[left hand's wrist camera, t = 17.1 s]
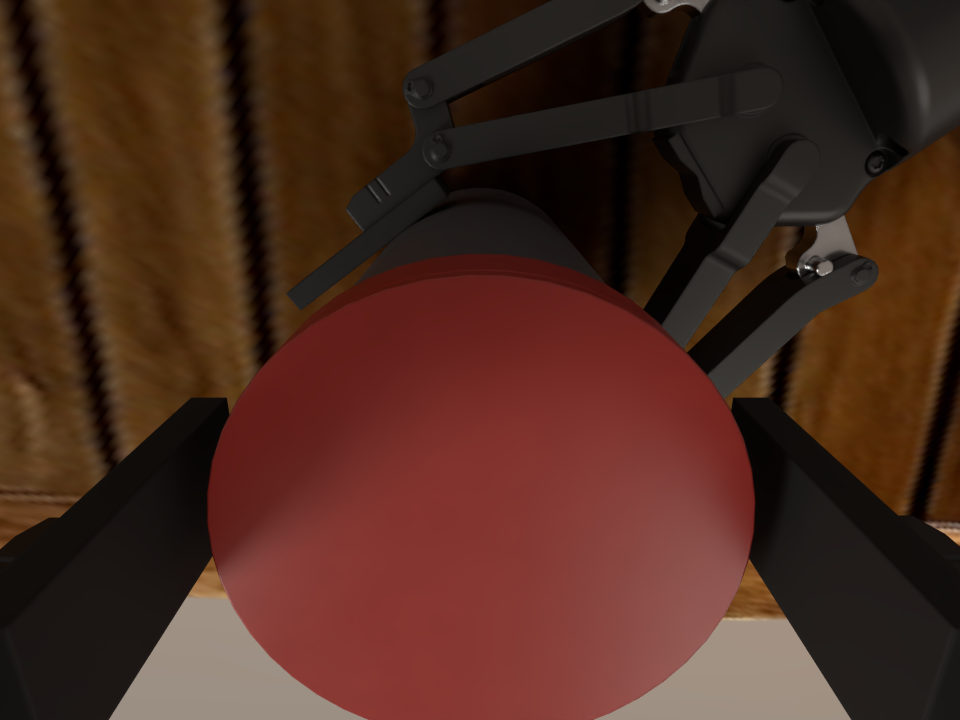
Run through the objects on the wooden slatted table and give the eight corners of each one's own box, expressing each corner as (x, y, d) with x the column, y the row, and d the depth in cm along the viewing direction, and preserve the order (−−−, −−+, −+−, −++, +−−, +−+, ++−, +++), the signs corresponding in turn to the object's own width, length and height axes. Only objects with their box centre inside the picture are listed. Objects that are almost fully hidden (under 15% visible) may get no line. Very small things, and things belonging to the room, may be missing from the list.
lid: (151, 501, 12) (100, 558, 11) (461, 133, 10) (457, 133, 8) (494, 731, 14) (496, 808, 13) (816, 473, 12) (869, 527, 10)
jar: (455, 146, 27) (405, 170, 9) (612, 260, 28) (831, 469, 11) (351, 307, 29) (154, 573, 11) (502, 403, 31) (532, 764, 13)
